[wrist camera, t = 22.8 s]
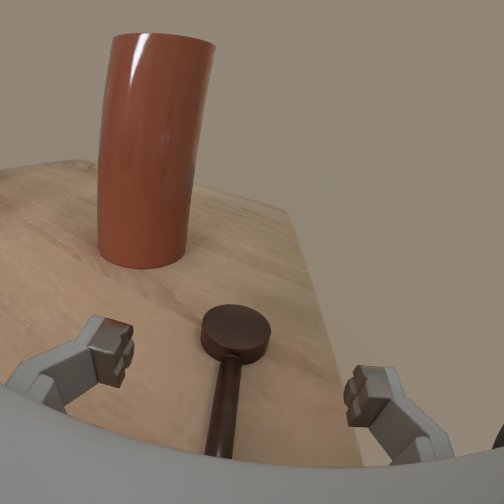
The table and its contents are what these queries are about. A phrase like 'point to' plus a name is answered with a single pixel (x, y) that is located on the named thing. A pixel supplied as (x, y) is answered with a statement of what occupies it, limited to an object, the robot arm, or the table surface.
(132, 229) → the canister
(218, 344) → the brown disc-ended rod
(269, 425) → the table surface
